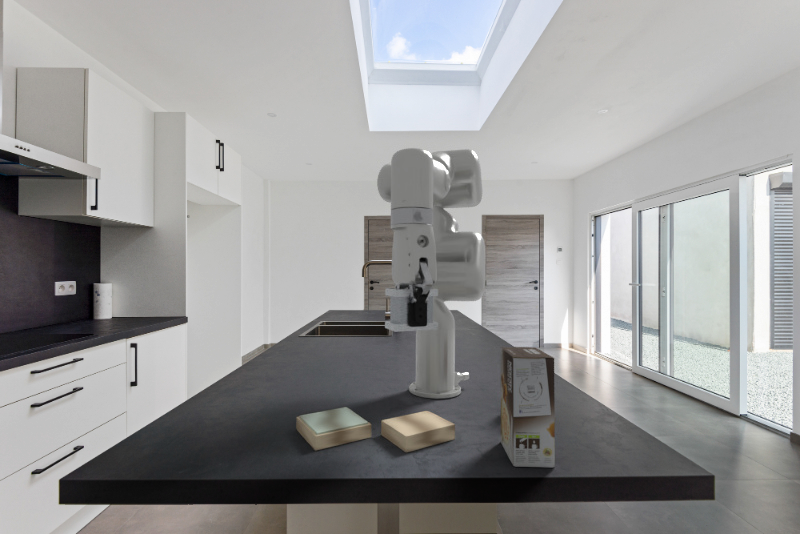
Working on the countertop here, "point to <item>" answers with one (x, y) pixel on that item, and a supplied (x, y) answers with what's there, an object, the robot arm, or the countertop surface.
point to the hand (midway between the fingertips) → (411, 323)
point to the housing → (407, 310)
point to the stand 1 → (332, 428)
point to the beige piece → (417, 430)
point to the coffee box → (527, 406)
